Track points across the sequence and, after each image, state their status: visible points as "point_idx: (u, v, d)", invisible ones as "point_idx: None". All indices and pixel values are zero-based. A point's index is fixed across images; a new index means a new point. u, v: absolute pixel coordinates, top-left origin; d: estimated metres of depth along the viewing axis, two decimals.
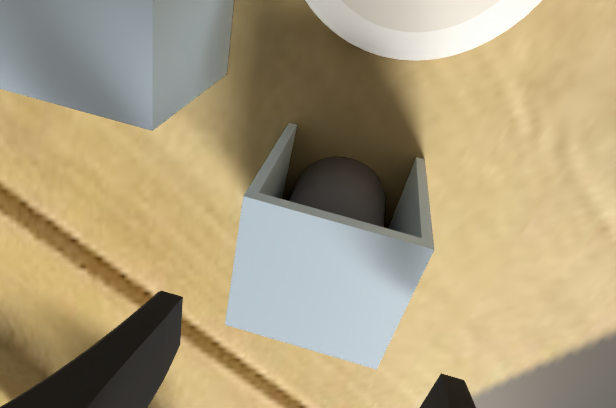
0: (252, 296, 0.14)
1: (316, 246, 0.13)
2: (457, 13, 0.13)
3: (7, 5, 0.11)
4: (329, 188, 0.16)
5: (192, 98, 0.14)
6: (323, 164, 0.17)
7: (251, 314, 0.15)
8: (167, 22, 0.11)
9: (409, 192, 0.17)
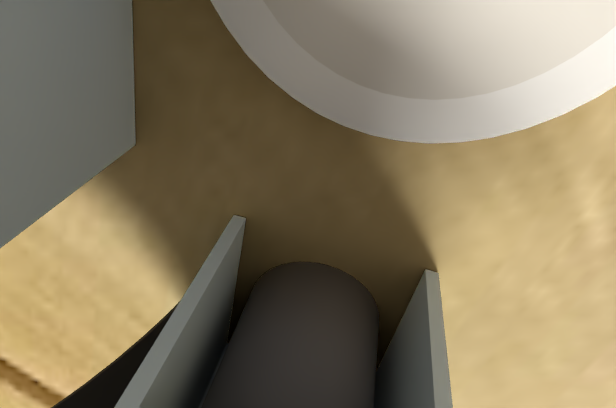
0: None
1: None
2: (502, 70, 0.07)
3: None
4: (288, 337, 0.10)
5: (45, 210, 0.08)
6: (285, 276, 0.12)
7: None
8: None
9: (415, 331, 0.11)
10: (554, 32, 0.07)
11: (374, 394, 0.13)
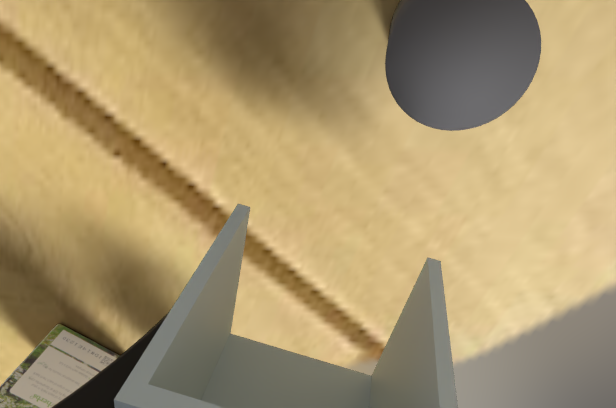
0: None
1: None
2: None
3: None
4: None
5: None
6: None
7: None
8: None
9: (417, 317, 0.11)
10: None
11: (376, 383, 0.13)
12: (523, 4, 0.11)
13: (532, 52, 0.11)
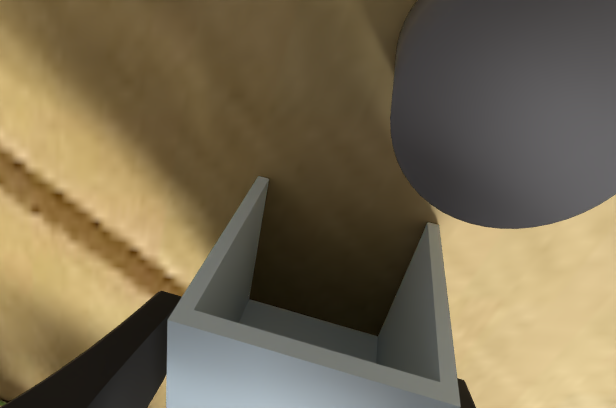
0: None
1: (281, 388, 0.09)
2: None
3: None
4: None
5: None
6: None
7: None
8: None
9: (419, 273, 0.12)
10: None
11: (382, 340, 0.15)
12: None
13: None
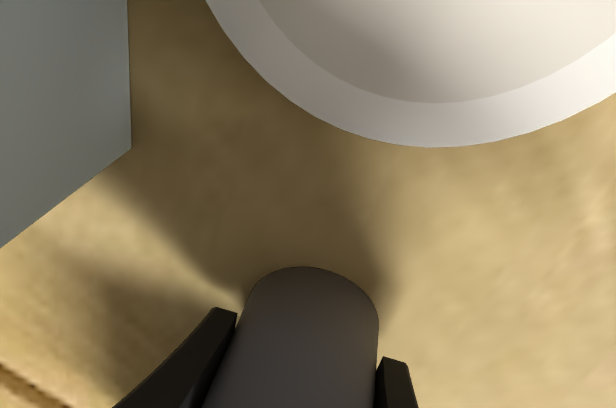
0: None
1: None
2: (505, 73, 0.07)
3: None
4: (286, 345, 0.10)
5: (37, 216, 0.08)
6: (283, 282, 0.11)
7: None
8: None
9: None
10: (558, 34, 0.07)
11: None
12: None
13: None
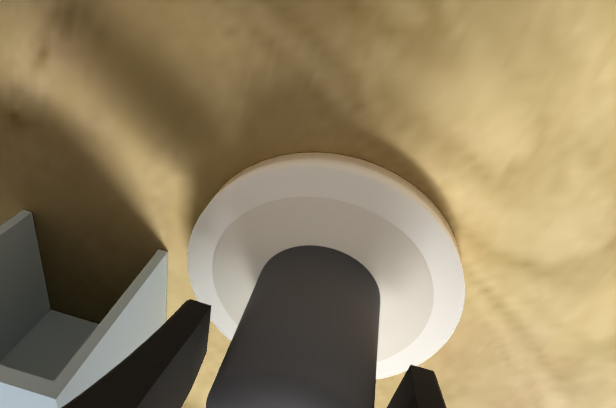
0: None
1: None
2: None
3: None
4: (298, 311, 0.10)
5: None
6: (293, 258, 0.12)
7: None
8: None
9: None
10: None
11: None
12: (343, 399, 0.09)
13: None
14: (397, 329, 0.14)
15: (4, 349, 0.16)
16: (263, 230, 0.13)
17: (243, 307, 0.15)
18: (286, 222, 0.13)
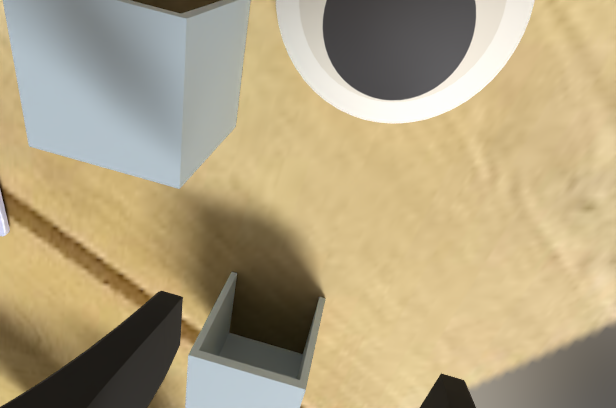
0: (200, 406, 0.22)
1: (235, 382, 0.20)
2: None
3: (70, 96, 0.14)
4: None
5: (208, 155, 0.17)
6: None
7: None
8: (192, 108, 0.14)
9: (312, 324, 0.24)
10: None
11: (302, 357, 0.26)
12: None
13: (467, 17, 0.11)
14: None
15: None
16: None
17: None
18: None
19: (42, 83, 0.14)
